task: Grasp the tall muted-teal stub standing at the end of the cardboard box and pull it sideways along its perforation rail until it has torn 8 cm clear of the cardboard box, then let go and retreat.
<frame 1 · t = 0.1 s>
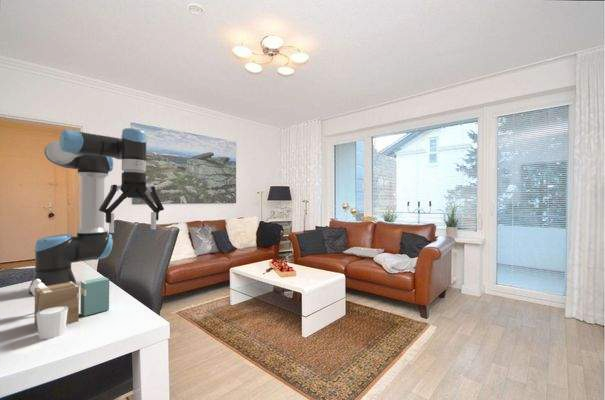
hand: (133, 230, 98), 28 cm above the table, fingers open, 13 cm apart
figurine: (38, 314, 92), on the table
cardboard box: (56, 321, 86), on the table
stub: (95, 295, 94), point 6 cm above the table, slide at 0.0 cm
shot glass: (52, 335, 79), on the table
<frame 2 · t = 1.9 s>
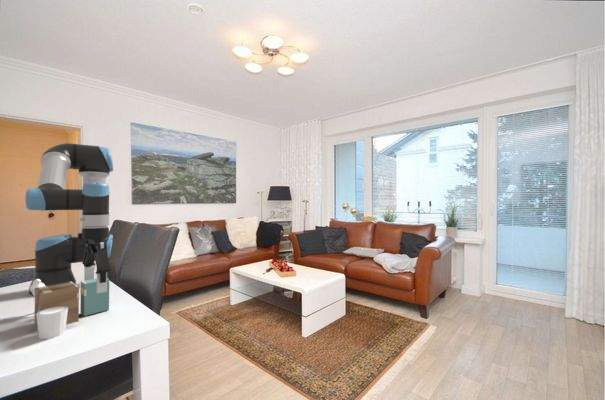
hand: (95, 288, 94), 8 cm above the table, fingers open, 13 cm apart
nothing on the table moved.
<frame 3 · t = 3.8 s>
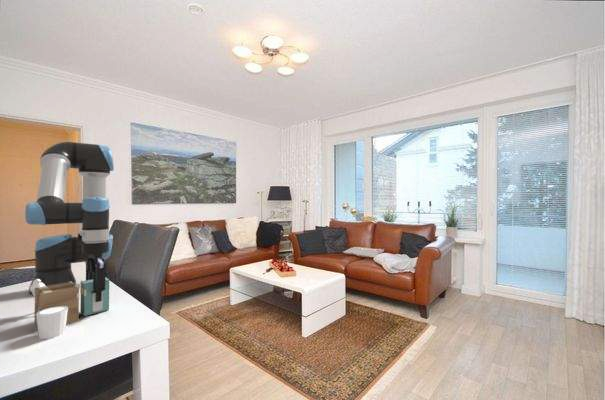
hand: (94, 308, 94), 1 cm above the table, fingers closed on stub, 4 cm apart
stub: (95, 295, 94), point 6 cm above the table, slide at 0.0 cm, touching gripper
everything else where it was.
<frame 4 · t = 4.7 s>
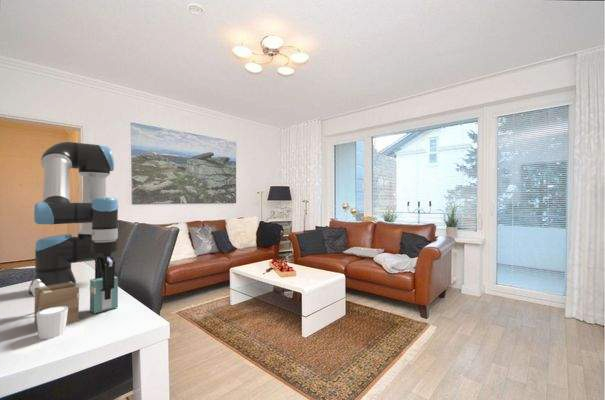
hand: (104, 306, 96), 1 cm above the table, fingers closed on stub, 4 cm apart
stub: (104, 293, 96), point 6 cm above the table, slide at 2.7 cm, touching gripper
everything else where it was.
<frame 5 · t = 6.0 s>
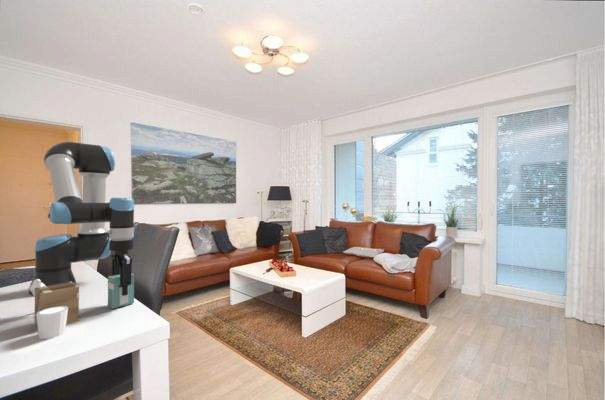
hand: (121, 301, 101), 1 cm above the table, fingers closed on stub, 4 cm apart
stub: (121, 289, 101), point 6 cm above the table, slide at 7.9 cm, touching gripper
everything else where it was.
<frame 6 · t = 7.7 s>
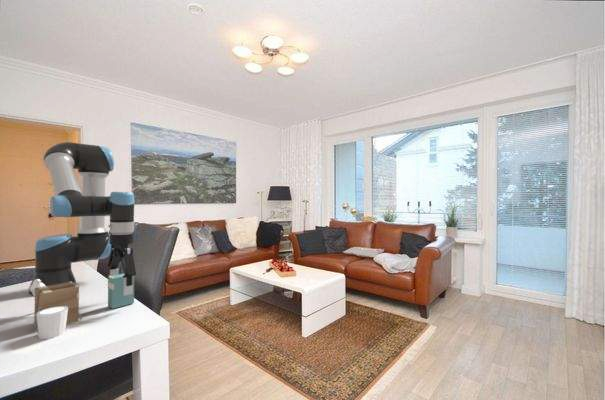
hand: (120, 290, 101), 5 cm above the table, fingers open, 13 cm apart
stub: (121, 289, 101), point 6 cm above the table, slide at 8.0 cm
everything else where it was.
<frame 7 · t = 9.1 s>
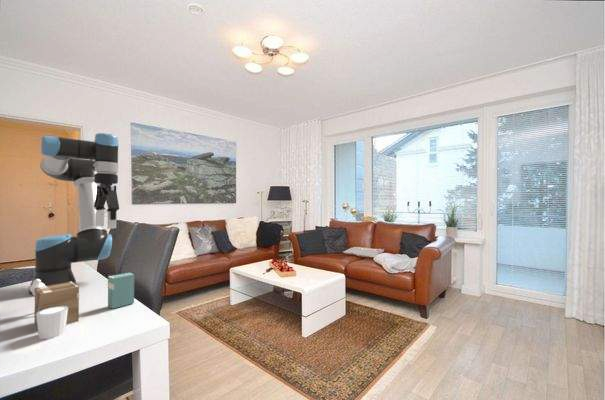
hand: (105, 227, 108), 28 cm above the table, fingers open, 13 cm apart
nothing on the table moved.
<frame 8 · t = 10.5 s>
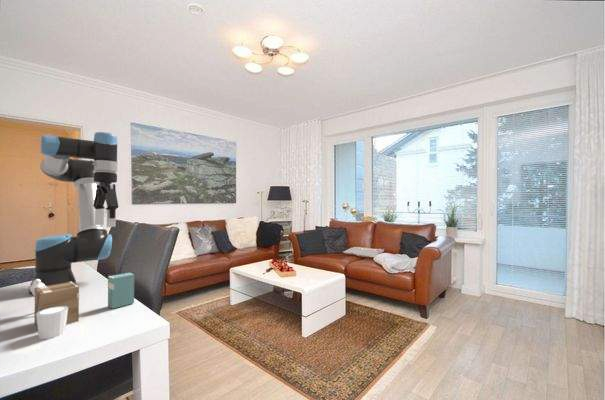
hand: (105, 225, 108), 29 cm above the table, fingers open, 13 cm apart
nothing on the table moved.
at the end: stub slide at 8.0 cm; the gripper is holding nothing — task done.
